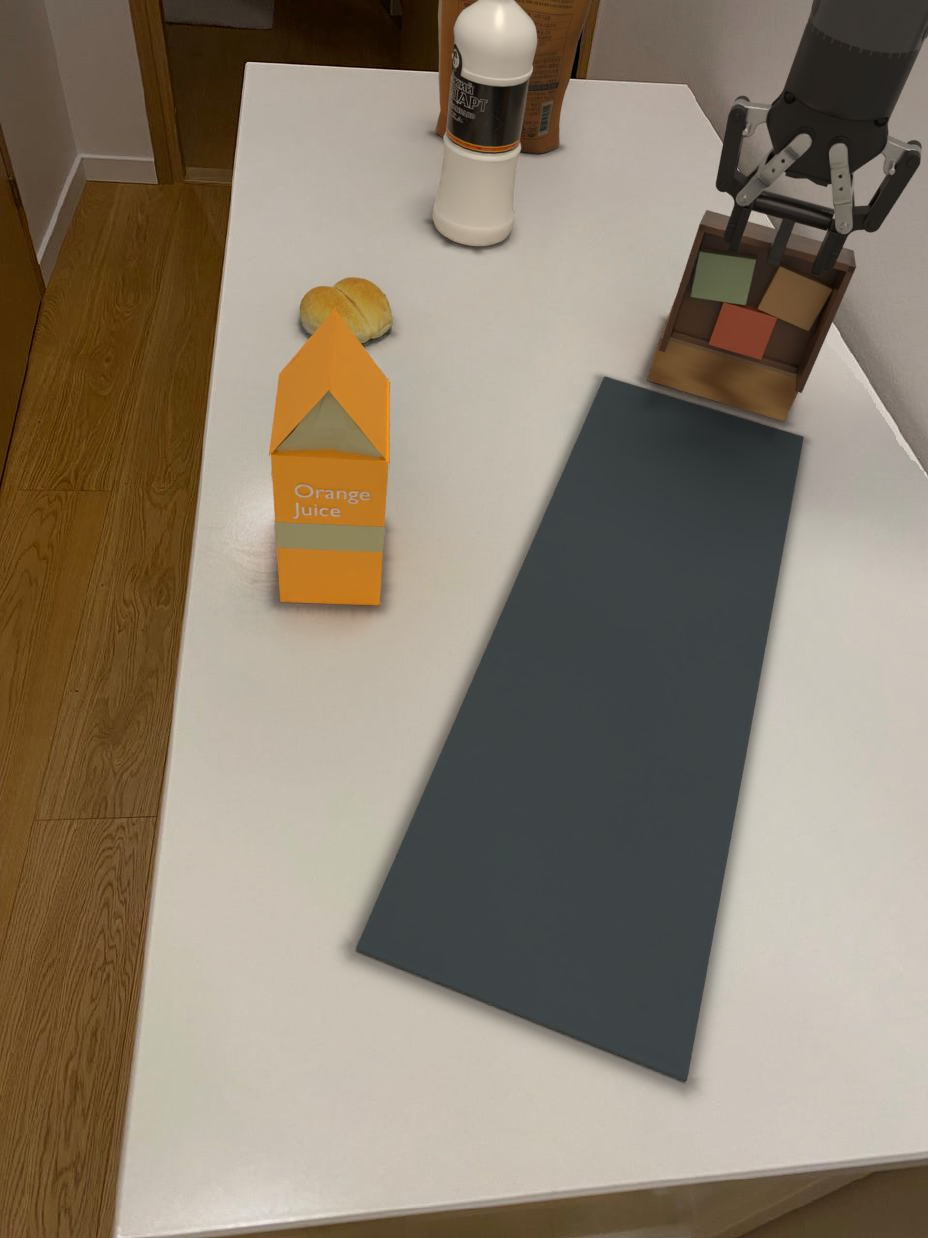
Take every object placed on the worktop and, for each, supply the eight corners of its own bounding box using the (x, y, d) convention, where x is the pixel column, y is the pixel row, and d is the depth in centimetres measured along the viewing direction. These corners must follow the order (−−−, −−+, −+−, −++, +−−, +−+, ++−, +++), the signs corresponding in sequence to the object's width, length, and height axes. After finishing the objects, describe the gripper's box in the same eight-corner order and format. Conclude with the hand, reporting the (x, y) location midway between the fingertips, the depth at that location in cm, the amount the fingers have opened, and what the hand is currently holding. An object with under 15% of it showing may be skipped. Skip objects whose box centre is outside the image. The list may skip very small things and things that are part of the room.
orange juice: (382, 523, 78) (395, 309, 62) (381, 606, 72) (395, 393, 57) (285, 519, 77) (274, 300, 62) (277, 602, 71) (262, 385, 56)
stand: (797, 358, 100) (816, 316, 96) (784, 422, 93) (804, 379, 89) (669, 320, 102) (682, 278, 98) (646, 380, 94) (660, 337, 90)
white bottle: (518, 250, 107) (570, -63, 84) (437, 249, 106) (467, -72, 82) (504, 209, 113) (549, -96, 90) (427, 206, 111) (452, -105, 88)
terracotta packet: (778, 312, 86) (777, 317, 85) (761, 354, 88) (761, 360, 87) (724, 297, 87) (723, 302, 85) (709, 339, 89) (708, 344, 88)
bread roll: (285, 314, 95) (284, 278, 92) (363, 293, 99) (364, 257, 95) (327, 359, 91) (327, 322, 88) (405, 335, 95) (408, 299, 92)
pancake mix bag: (571, 164, 122) (623, -100, 101) (424, 148, 120) (445, -124, 99) (567, 140, 126) (617, -118, 105) (425, 124, 125) (445, -141, 103)
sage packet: (757, 255, 84) (756, 259, 83) (746, 300, 86) (745, 305, 85) (700, 247, 85) (699, 251, 84) (691, 292, 87) (689, 297, 86)
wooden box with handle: (875, 199, 80) (882, 223, 71) (802, 371, 89) (801, 410, 81) (722, 158, 81) (712, 178, 73) (666, 331, 90) (651, 365, 82)
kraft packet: (832, 284, 84) (833, 289, 82) (808, 326, 86) (808, 331, 85) (780, 261, 84) (780, 265, 82) (757, 304, 86) (757, 308, 85)
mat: (802, 439, 91) (803, 436, 91) (685, 1082, 53) (687, 1080, 53) (603, 379, 94) (604, 375, 93) (355, 950, 56) (356, 948, 55)
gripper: (978, 31, 63) (867, 261, 76) (768, -21, 65) (694, 212, 78) (979, 71, 59) (860, 308, 72) (752, 14, 60) (677, 256, 73)
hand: (774, 257), depth 75 cm, fingers closed on wooden box with handle, 6 cm apart
